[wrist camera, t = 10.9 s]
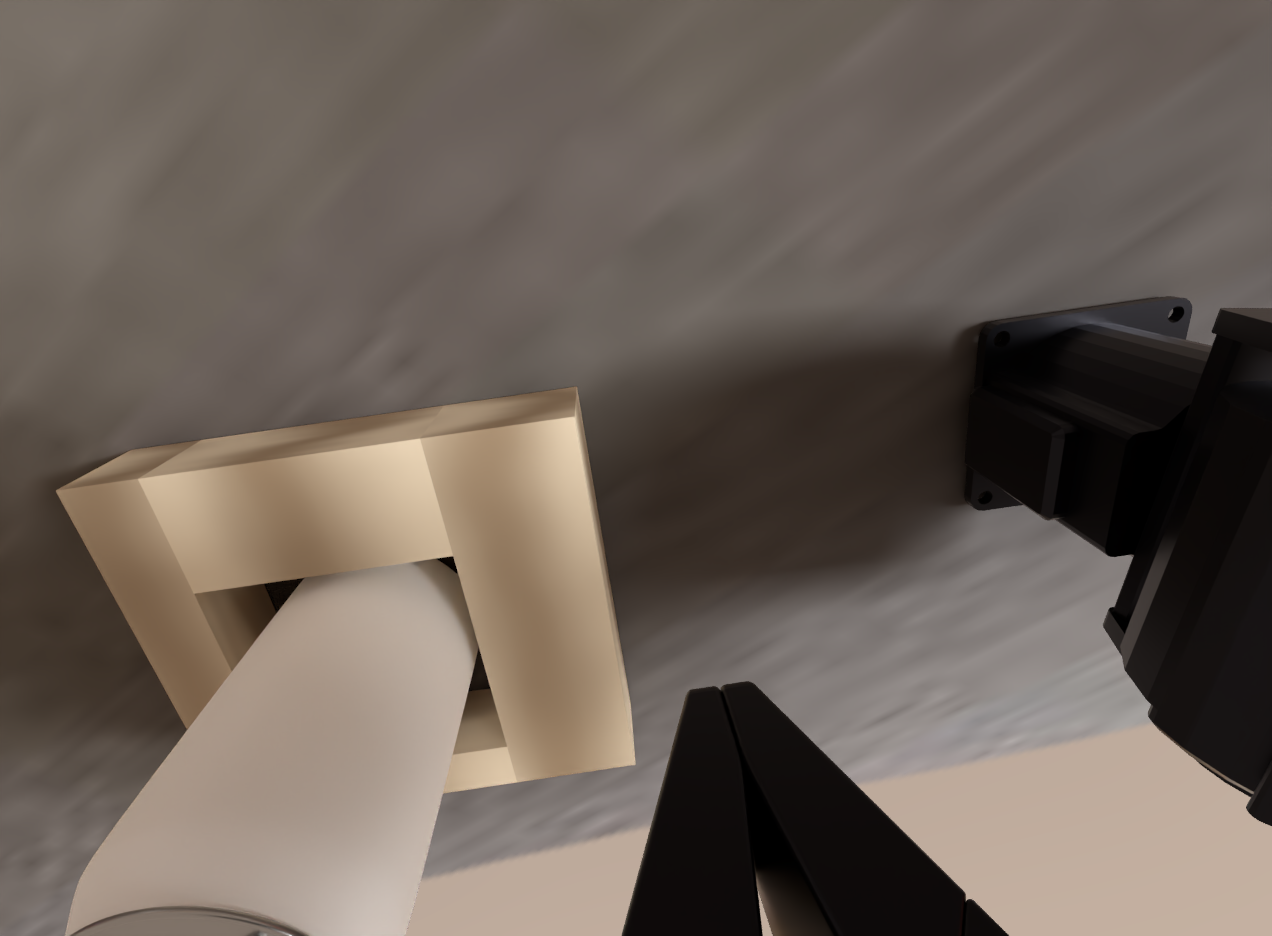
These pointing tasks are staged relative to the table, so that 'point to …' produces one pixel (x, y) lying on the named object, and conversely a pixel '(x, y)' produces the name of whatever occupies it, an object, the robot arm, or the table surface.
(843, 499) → the table surface
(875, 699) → the table surface
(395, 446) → the frame
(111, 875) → the can
